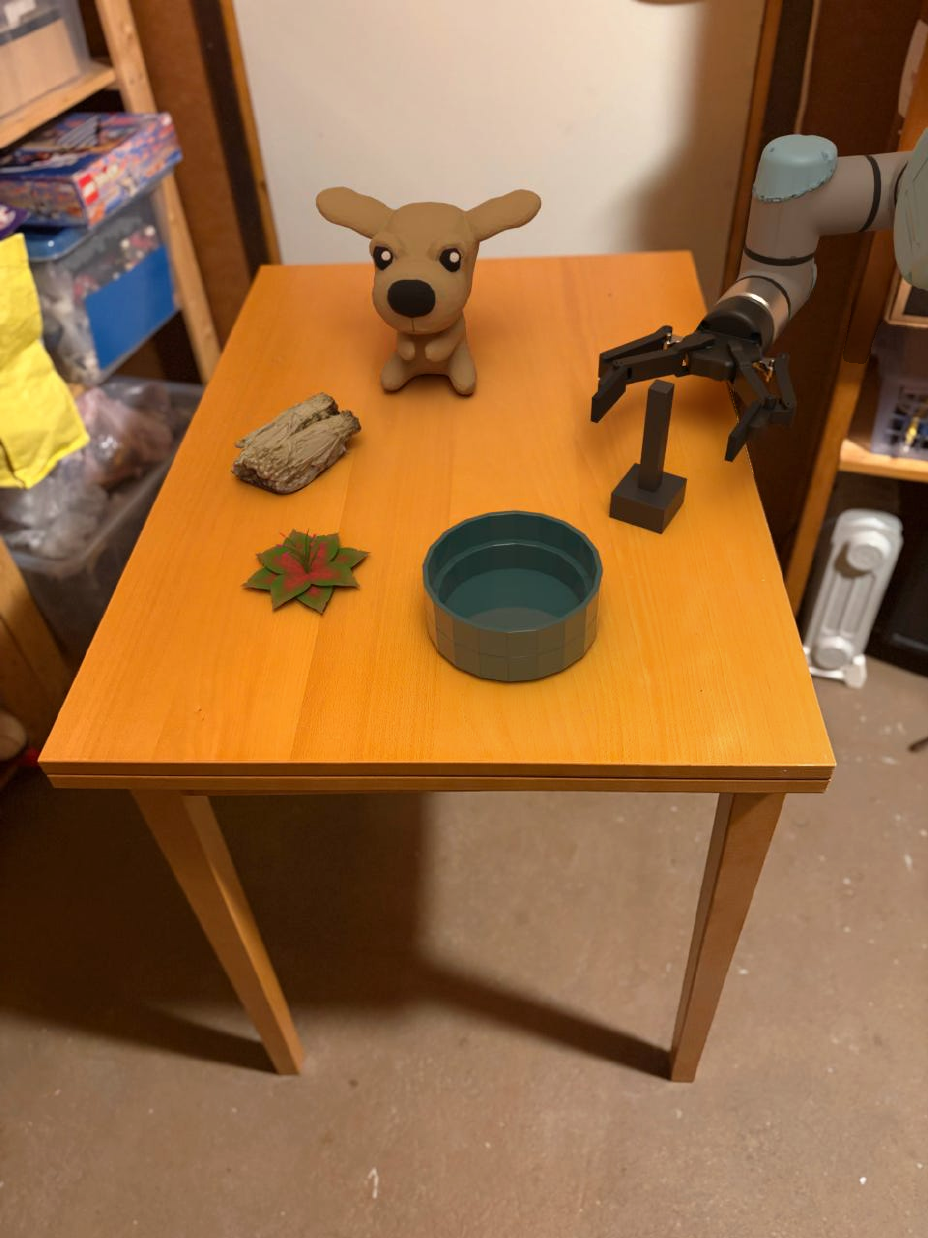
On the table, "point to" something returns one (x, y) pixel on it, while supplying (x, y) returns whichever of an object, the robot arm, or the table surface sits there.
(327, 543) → the lily flower
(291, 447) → the weathered wood chunk
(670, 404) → the post on square base
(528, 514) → the bowl
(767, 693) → the table surface
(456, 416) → the table surface
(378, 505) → the table surface
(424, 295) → the toy
